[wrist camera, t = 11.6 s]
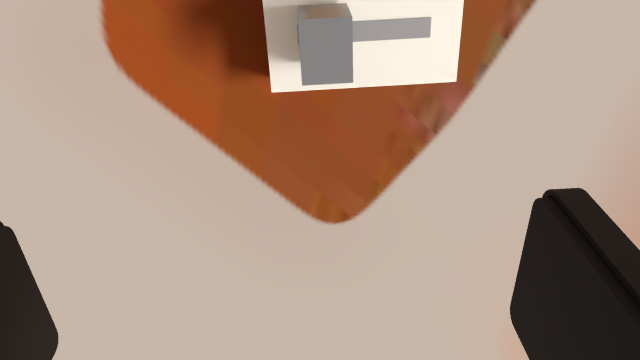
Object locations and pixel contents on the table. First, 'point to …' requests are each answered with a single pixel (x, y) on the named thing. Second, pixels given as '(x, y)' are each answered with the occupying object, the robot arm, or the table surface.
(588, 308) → the robot arm
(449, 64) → the switch box
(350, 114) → the table surface
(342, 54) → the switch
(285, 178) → the table surface
